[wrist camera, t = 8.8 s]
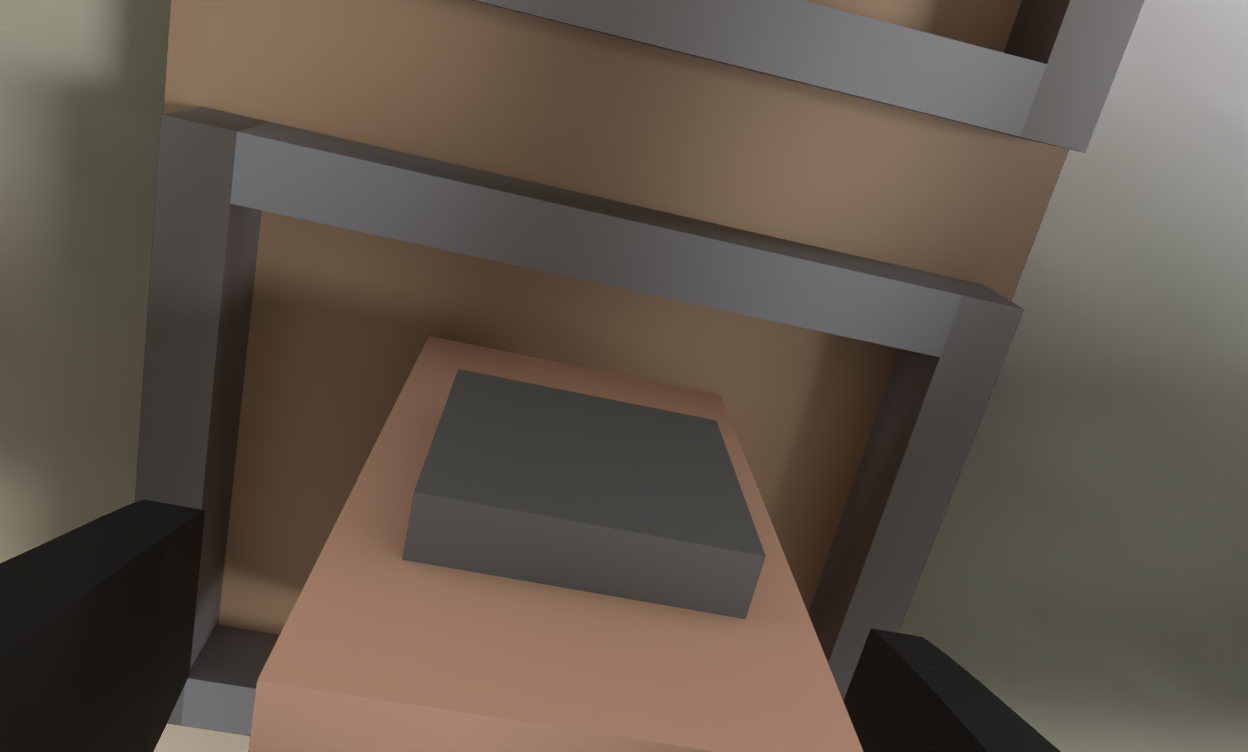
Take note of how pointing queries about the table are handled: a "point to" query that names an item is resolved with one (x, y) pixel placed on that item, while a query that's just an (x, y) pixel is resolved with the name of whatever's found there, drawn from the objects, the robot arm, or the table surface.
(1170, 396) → the table surface
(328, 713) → the pinkish brown block
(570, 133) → the brown flat tray
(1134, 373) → the table surface
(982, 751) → the robot arm
